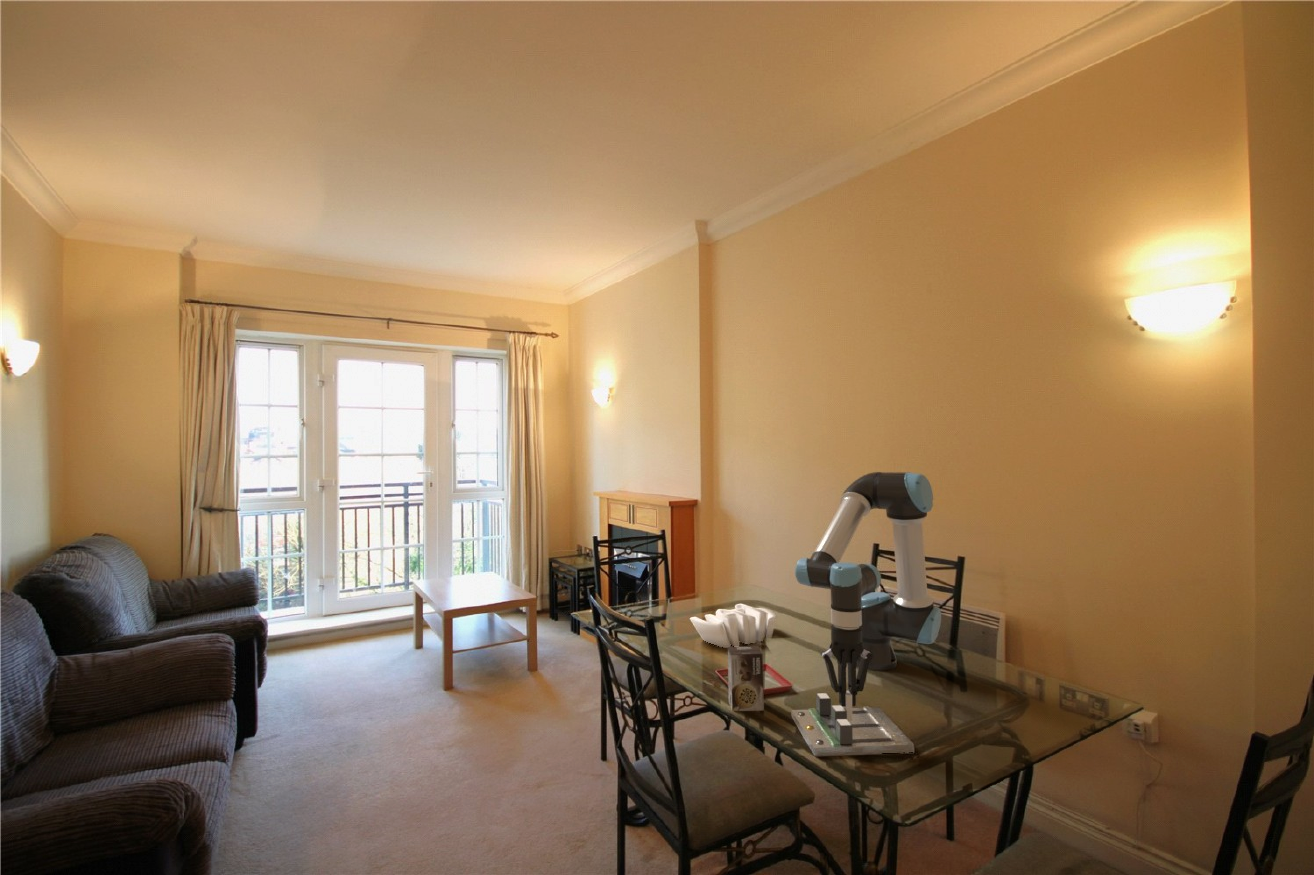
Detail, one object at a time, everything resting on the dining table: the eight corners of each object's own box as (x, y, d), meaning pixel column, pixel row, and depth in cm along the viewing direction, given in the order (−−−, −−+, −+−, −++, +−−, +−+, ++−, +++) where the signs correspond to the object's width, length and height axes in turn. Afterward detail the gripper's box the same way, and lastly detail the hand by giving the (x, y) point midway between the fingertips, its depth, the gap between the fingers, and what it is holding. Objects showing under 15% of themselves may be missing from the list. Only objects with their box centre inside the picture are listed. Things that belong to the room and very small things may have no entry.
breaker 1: (827, 709, 159) (827, 693, 159) (831, 714, 156) (830, 697, 156) (816, 710, 159) (816, 693, 159) (819, 715, 156) (819, 698, 156)
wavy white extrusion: (709, 652, 210) (709, 622, 210) (686, 639, 225) (686, 611, 225) (787, 637, 226) (787, 609, 226) (761, 625, 240) (761, 599, 241)
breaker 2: (847, 737, 144) (847, 718, 144) (852, 743, 141) (852, 724, 141) (835, 737, 144) (835, 719, 144) (840, 743, 141) (840, 725, 141)
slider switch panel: (878, 714, 160) (878, 705, 160) (914, 752, 140) (914, 741, 140) (791, 717, 159) (791, 707, 159) (814, 756, 139) (814, 745, 139)
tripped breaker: (842, 722, 151) (842, 705, 151) (847, 728, 148) (846, 710, 148) (831, 723, 151) (830, 705, 151) (835, 728, 148) (835, 710, 148)
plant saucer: (737, 703, 169) (737, 692, 169) (714, 680, 186) (714, 669, 186) (794, 696, 174) (794, 684, 174) (766, 673, 191) (766, 663, 191)
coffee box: (759, 701, 169) (758, 645, 169) (764, 712, 163) (763, 653, 163) (727, 702, 169) (727, 646, 169) (731, 712, 162) (730, 653, 163)
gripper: (865, 620, 154) (866, 711, 154) (816, 621, 154) (817, 712, 153) (877, 629, 147) (879, 724, 146) (826, 630, 146) (827, 726, 146)
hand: (847, 718), depth 150 cm, fingers closed
